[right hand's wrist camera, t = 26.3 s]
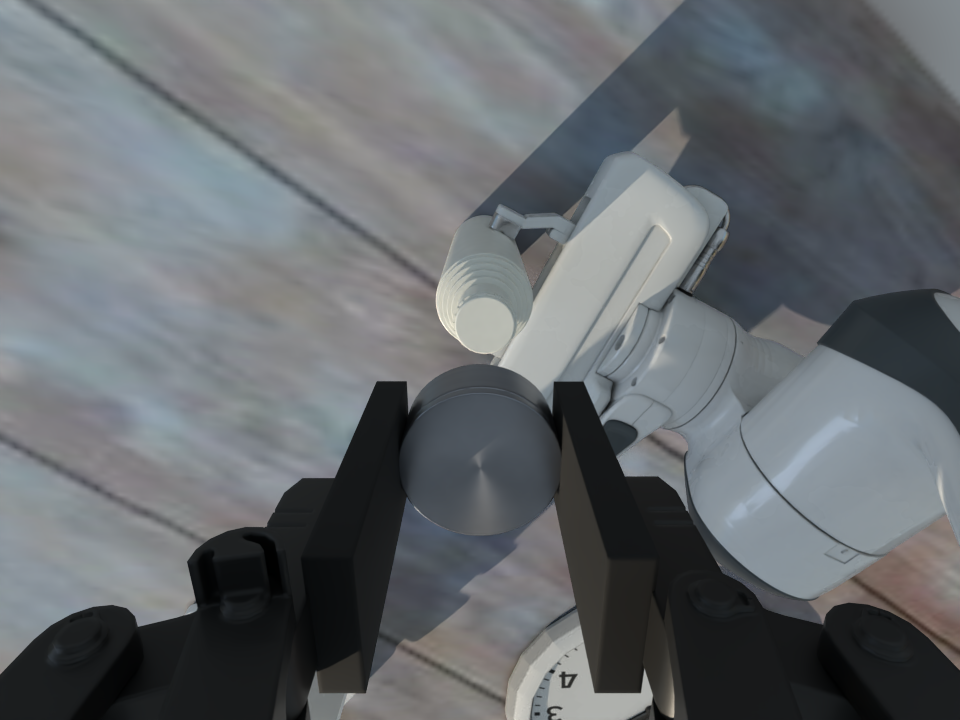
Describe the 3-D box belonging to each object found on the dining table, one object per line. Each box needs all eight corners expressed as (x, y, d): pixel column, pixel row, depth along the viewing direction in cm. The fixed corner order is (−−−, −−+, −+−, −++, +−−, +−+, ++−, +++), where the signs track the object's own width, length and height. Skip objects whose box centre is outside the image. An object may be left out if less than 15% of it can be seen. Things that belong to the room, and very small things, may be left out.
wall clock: (827, 594, 52) (784, 810, 62) (817, 581, 53) (777, 794, 64) (499, 607, 52) (510, 819, 63) (498, 594, 54) (510, 803, 64)
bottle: (518, 274, 43) (545, 371, 25) (456, 282, 44) (437, 383, 25) (512, 211, 42) (536, 263, 23) (448, 219, 42) (420, 277, 23)
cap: (483, 332, 14) (483, 359, 12) (583, 433, 15) (597, 471, 13) (376, 428, 15) (363, 465, 13) (477, 518, 16) (477, 562, 14)
